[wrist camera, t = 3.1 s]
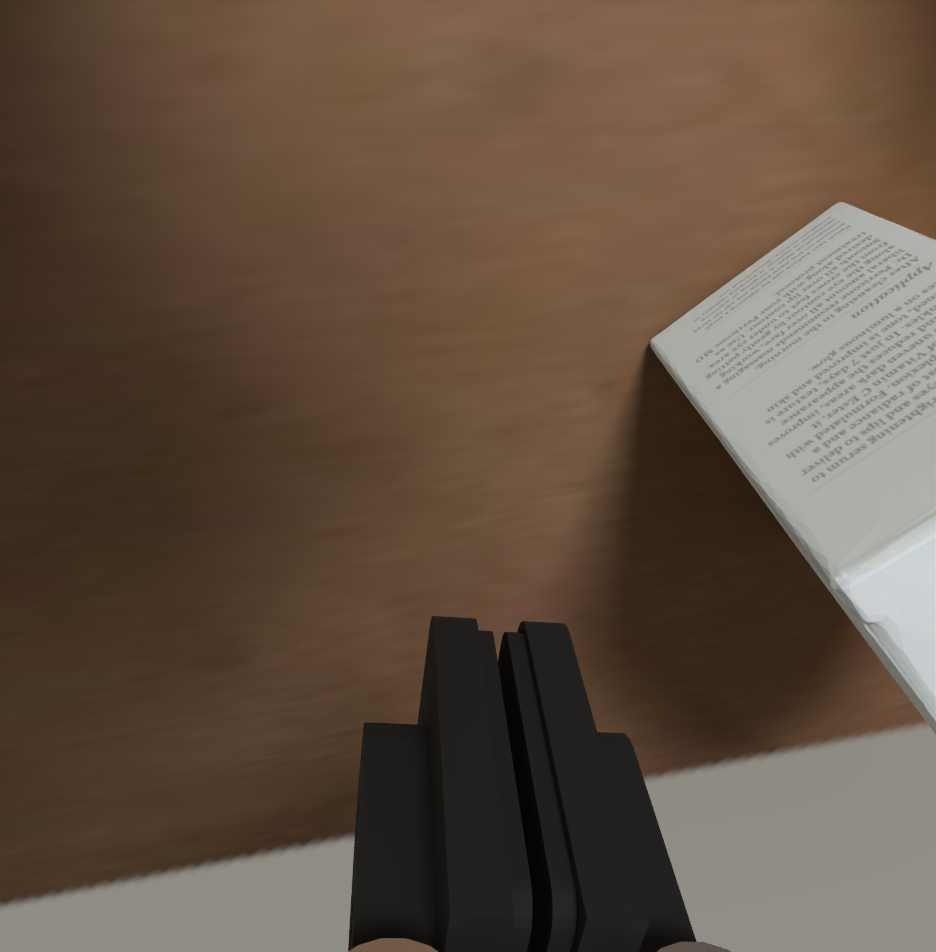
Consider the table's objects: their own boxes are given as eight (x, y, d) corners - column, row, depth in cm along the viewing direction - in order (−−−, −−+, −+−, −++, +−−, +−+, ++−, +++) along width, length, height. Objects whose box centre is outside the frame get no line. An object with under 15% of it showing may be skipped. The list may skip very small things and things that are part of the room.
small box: (968, 426, 23) (1352, 704, 14) (787, 540, 24) (1028, 862, 15) (840, 189, 20) (1236, 346, 10) (639, 337, 21) (833, 590, 12)
